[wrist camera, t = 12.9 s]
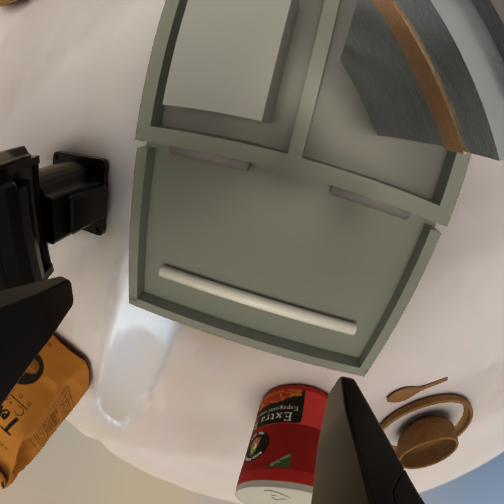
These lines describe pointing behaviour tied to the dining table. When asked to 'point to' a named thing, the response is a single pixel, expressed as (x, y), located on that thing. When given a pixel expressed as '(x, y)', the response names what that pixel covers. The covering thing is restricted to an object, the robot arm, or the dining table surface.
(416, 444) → the place setting
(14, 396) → the coffee package
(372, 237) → the case
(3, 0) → the bread roll
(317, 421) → the canned food
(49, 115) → the dining table surface
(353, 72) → the block
